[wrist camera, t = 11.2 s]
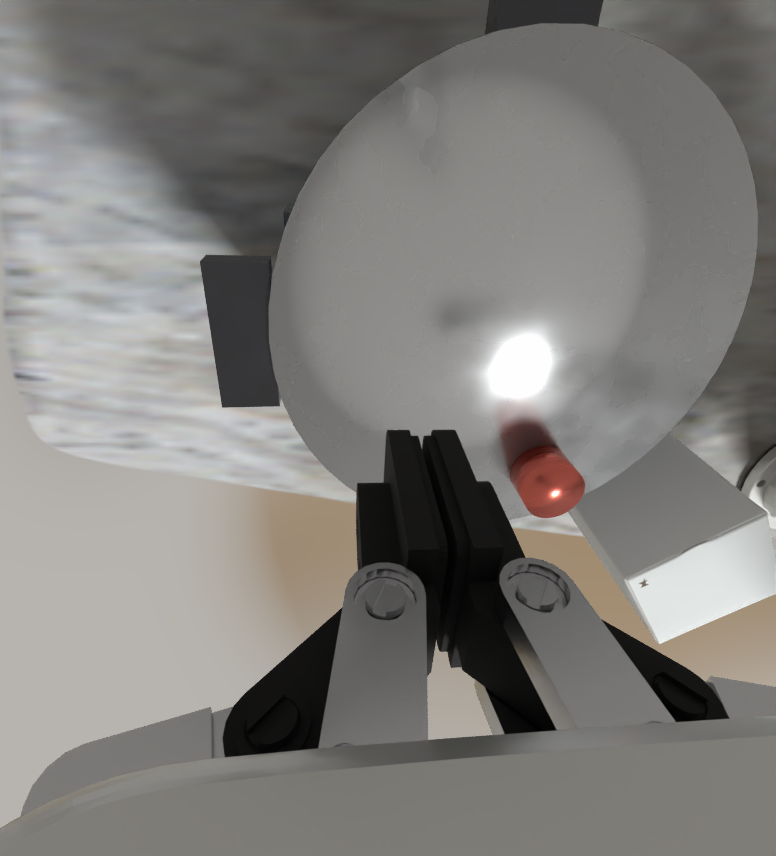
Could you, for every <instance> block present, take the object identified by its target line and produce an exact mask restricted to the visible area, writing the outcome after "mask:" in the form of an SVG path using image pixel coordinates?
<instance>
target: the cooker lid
mask: <svg viewBox="0 0 776 856" xmlns="http://www.w3.org/2000/svg"><path fill="white" fill-rule="evenodd" d="M757 244H758V209H757V200H756V190H755V182H754V179H753V175H752V171H751V167H750V163H749V160H748V156H747V152H746V149H745V147H744V145H743V143H742V140H741V138H740V136H739V134H738V131H737V129H736V127H735V125H734V123H733V120H732V119H731V117H730V116H729V114H728V113H727V111H726V110H725V108H724V107H723V105H722V104H721V103H720V101H719V100H718V98H717V97H716V95H715V94H714V92H713V91H712V90H711V89H710V88H709V87H708V86H707V85H706V84H705V83H704V82H703V81H702V80H701V79H700V78H699V77H698V76H697V75H696V74H695V73H694V72H693V71H692V70H691V69H690V68H689V67H688V66H687V65H685V64H684V63H682V62H681V61H679V60H678V59H676V58H675V57H673V56H672V55H670V54H669V53H667V52H666V51H664V50H663V49H661V48H660V47H658V46H656V45H654V44H651V43H649V42H646V41H644V40H642V39H639V38H637V37H634V36H632V35H629V34H627V33H625V32H622V31H617V30H612V29H607V28H602V27H597V26H592V25H587V24H559V23H541V24H535V25H529V26H523V27H517V28H510V29H504V30H499V31H496V32H493V33H490V34H487V35H484V36H481V37H478V38H475V39H472V40H470V41H467V42H464V43H461V44H458V45H456V46H454V47H452V48H450V49H448V50H446V51H444V52H442V53H440V54H439V55H437V56H435V57H433V58H431V59H429V60H427V61H425V62H423V63H421V64H420V65H418V66H416V67H415V68H413V69H412V70H411V71H409V72H408V73H406V74H405V75H404V76H402V77H401V78H400V79H398V80H397V81H395V82H394V83H393V84H391V85H390V86H389V87H387V88H386V89H385V90H383V91H382V92H380V93H379V94H378V95H376V96H375V97H374V98H373V99H372V100H371V101H370V102H369V103H368V104H367V105H366V106H365V107H364V108H363V109H362V110H360V111H359V112H358V113H357V114H356V115H355V116H354V117H353V118H352V119H351V120H350V121H349V122H348V123H347V124H346V125H345V126H344V127H343V129H342V130H341V131H340V132H339V134H338V135H337V136H336V138H335V139H334V140H333V141H332V143H331V144H330V145H329V147H328V148H327V149H326V151H325V152H324V153H323V154H322V156H321V157H320V158H319V160H318V162H317V163H316V165H315V167H314V168H313V170H312V172H311V174H310V175H309V177H308V179H307V181H306V182H305V184H304V186H303V187H302V189H301V191H300V193H299V195H298V197H297V200H296V202H295V205H294V207H293V209H292V212H291V214H290V217H289V219H288V221H287V224H286V226H285V229H284V232H283V235H282V239H281V243H280V247H279V251H278V254H277V258H276V262H275V266H274V270H273V275H272V268H271V256H236V255H206V256H205V257H204V258H203V259H202V260H201V261H200V265H201V271H202V278H203V284H204V291H205V297H206V304H207V311H208V317H209V324H210V330H211V337H212V343H213V350H214V356H215V363H216V369H217V376H218V382H219V389H220V396H221V402H222V407H262V406H280V399H281V398H282V401H283V403H284V406H285V408H286V410H287V412H288V414H289V416H290V418H291V420H292V422H293V425H294V427H295V428H296V430H297V431H298V433H299V435H300V436H301V438H302V439H303V441H304V442H305V444H306V445H307V447H308V448H309V450H310V451H311V452H312V453H313V454H314V455H315V456H316V458H317V459H318V460H319V461H320V462H321V463H322V464H323V466H324V467H325V468H326V469H327V470H328V471H329V472H331V473H332V474H333V475H334V476H335V477H336V478H338V479H339V480H340V481H341V482H342V483H343V484H345V485H346V486H347V487H349V488H350V489H352V490H354V491H355V492H357V483H383V481H384V463H385V445H386V432H387V430H410V433H411V436H418V437H419V440H420V444H421V448H422V443H423V437H424V436H428V435H431V432H432V430H456V432H457V435H458V437H459V439H460V442H461V444H462V447H463V449H464V451H465V454H466V456H467V459H468V461H469V463H470V466H471V468H472V471H473V473H474V475H475V478H476V480H477V481H489V482H490V483H491V484H492V486H493V488H494V490H495V492H496V494H497V496H498V499H499V501H500V503H501V505H502V507H503V510H504V512H505V514H506V516H507V518H508V520H510V519H515V518H520V517H524V516H529V515H532V514H533V515H534V516H537V517H541V518H551V517H556V516H559V515H562V514H564V513H566V512H568V511H569V510H571V509H572V508H573V507H574V506H575V505H577V503H578V502H579V501H580V500H581V498H582V496H583V495H584V494H586V493H588V492H590V491H592V490H594V489H596V488H598V487H600V486H601V485H603V484H604V483H606V482H608V481H609V480H611V479H612V478H614V477H615V476H617V475H619V474H620V473H622V472H623V471H625V470H626V469H627V468H628V467H630V466H631V465H632V464H634V463H635V462H636V461H638V460H639V459H640V458H642V457H643V456H644V455H645V454H646V453H648V452H649V451H650V450H651V449H652V448H653V447H654V446H655V445H656V444H658V443H659V442H660V441H661V440H662V439H663V438H664V437H665V436H666V435H667V434H668V433H669V432H670V431H671V430H672V429H673V428H674V427H675V425H676V424H677V423H678V422H679V421H680V420H681V419H682V418H683V417H684V416H685V414H686V413H687V412H688V411H689V409H690V408H691V407H692V405H693V404H694V403H695V402H696V400H697V399H698V398H699V396H700V395H701V394H702V393H703V391H704V389H705V388H706V386H707V385H708V383H709V382H710V380H711V379H712V377H713V375H714V374H715V372H716V371H717V369H718V368H719V366H720V364H721V362H722V360H723V358H724V356H725V354H726V352H727V350H728V348H729V346H730V344H731V342H732V340H733V338H734V335H735V333H736V330H737V328H738V325H739V323H740V320H741V318H742V315H743V313H744V309H745V306H746V302H747V299H748V295H749V291H750V288H751V284H752V280H753V274H754V267H755V261H756V254H757Z"/></svg>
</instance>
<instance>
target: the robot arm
mask: <svg viewBox="0 0 776 856" xmlns="http://www.w3.org/2000/svg"><path fill="white" fill-rule="evenodd" d="M741 492H742V493H743V494H745V495H746V496H747V497H749V498H750V499H751V500H752V501H754V502H755V503H756V504H757V505H759V506H760V507H761V508H763V509H764V510H766V511H767V513H768V519H769V524H770V529H776V446H775V447H774V448H773V449H771V450H770V451H769V452H768V453H767V454H766V455H765V456H764V457H763V458H762V459H761V460H759V462H758V463H757V464H756V465H755V467H754V468H753V469H752V470H751V472H750V473H749V475H748V477H747V478H746V480H745V482H744V485H743V487H742V490H741ZM356 531H357V532H356V535H357V560H358V571H357V572H356V573H355V574H354V575H353V576H352V577H351V578H350V580H349V582H348V585H347V587H346V590H345V596H344V602H343V607H342V608H341V609H340V610H339V611H338V612H337V613H336V614H335V615H333V617H331V618H330V619H329V620H328V621H327V622H326V623H324V624H323V625H322V626H321V627H320V628H319V629H318V630H316V631H315V632H314V633H313V634H312V635H311V636H310V637H309V638H307V639H306V640H305V641H304V642H303V643H302V644H301V645H299V646H298V647H297V648H296V649H295V650H294V651H293V652H292V653H290V654H289V655H288V656H287V657H286V658H285V659H284V660H282V661H281V662H280V663H279V664H278V665H277V666H276V667H275V668H273V669H272V670H271V671H270V672H269V673H268V674H267V675H266V676H264V677H263V678H262V679H261V680H260V681H259V682H257V683H256V684H255V685H254V686H253V687H252V688H251V689H250V690H248V691H247V692H246V693H245V694H244V695H243V696H242V697H241V698H240V700H239V701H238V702H237V703H236V704H235V705H234V707H231V708H227V709H224V710H220V711H217V712H214V713H212V710H211V707H209V708H206V709H202V710H199V711H196V712H192V713H189V714H185V715H182V716H179V717H175V718H172V719H169V720H165V721H161V722H158V723H155V724H151V725H148V726H144V727H141V728H137V729H134V730H130V731H127V732H124V733H121V734H117V735H113V736H110V737H106V738H103V739H100V740H96V741H93V742H89V743H86V744H83V745H81V746H79V747H77V748H74V749H72V750H70V751H68V752H66V753H64V754H63V755H62V756H61V757H59V758H58V759H57V760H56V761H54V762H53V763H52V764H51V765H49V766H48V767H47V768H46V769H45V771H44V772H43V773H42V774H41V776H40V777H39V778H38V779H37V781H36V782H35V783H34V784H33V786H32V788H31V790H30V793H29V795H28V797H27V799H26V801H25V804H24V806H23V810H22V813H21V817H19V818H17V819H15V820H13V821H11V822H10V823H8V824H6V825H5V826H3V827H2V828H0V856H776V687H772V686H766V685H760V684H754V683H748V682H742V681H736V680H730V679H724V678H719V677H713V676H710V677H709V678H708V680H707V681H706V682H705V681H703V680H702V679H701V678H700V677H699V676H697V675H696V674H694V673H693V672H691V671H690V670H688V669H687V668H686V667H684V666H682V665H680V664H679V663H677V662H675V661H673V660H672V659H670V658H668V657H666V656H664V655H663V654H661V653H659V652H657V651H656V650H654V649H652V648H651V647H649V646H647V645H645V644H644V643H642V642H640V641H638V640H637V639H635V638H633V637H631V636H630V635H628V634H626V633H624V632H623V631H621V630H619V629H617V628H616V627H614V626H612V625H610V624H609V623H607V622H605V621H603V620H602V619H600V617H599V616H598V615H597V614H596V612H595V610H594V609H593V608H592V606H591V605H590V604H589V602H588V601H587V599H586V598H585V597H584V595H583V594H582V593H581V591H580V590H579V589H578V587H577V586H576V584H575V583H574V582H573V580H572V579H571V578H570V577H569V576H568V575H567V574H566V573H565V572H564V571H562V570H561V569H559V568H558V567H556V566H555V565H553V564H551V563H548V562H546V561H544V560H540V559H534V558H525V556H524V553H523V551H522V549H521V547H520V545H519V542H518V540H517V538H516V536H515V534H514V531H513V529H512V527H511V525H510V523H509V521H508V518H507V516H506V514H505V512H504V510H503V507H502V505H501V503H500V501H499V499H498V496H497V494H496V492H495V490H494V488H493V486H492V484H491V483H490V482H489V481H477V480H476V478H475V475H474V473H473V471H472V468H471V466H470V463H469V461H468V459H467V456H466V454H465V451H464V449H463V447H462V444H461V442H460V439H459V437H458V435H457V432H456V430H432V432H431V435H428V436H424V437H423V443H422V448H421V444H420V440H419V437H418V436H411V433H410V430H387V432H386V445H385V463H384V481H383V483H357V499H356ZM436 640H437V645H438V649H439V651H441V652H444V651H447V652H448V657H449V662H450V666H451V668H453V667H462V670H463V671H464V672H466V673H467V674H468V675H470V676H471V677H472V678H474V679H475V683H474V685H475V689H476V693H477V696H478V699H479V701H480V704H481V706H482V709H483V711H484V714H485V716H486V718H487V721H488V724H489V726H490V729H491V731H492V733H493V735H489V736H475V737H462V738H449V739H436V740H428V717H427V716H428V713H427V712H428V709H427V676H428V675H429V673H430V672H431V669H432V662H433V656H434V650H435V643H436Z"/></svg>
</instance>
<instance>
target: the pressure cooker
mask: <svg viewBox="0 0 776 856" xmlns="http://www.w3.org/2000/svg"><path fill="white" fill-rule="evenodd" d="M602 3H603V0H489V8H488V16H487V24H486V32H485V35H487V34H490V33H493V32H496V31H499V30H504V29H510V28H517V27H523V26H529V25H535V24H541V23H559V24H587V25H592V26H598V22H599V17H600V12H601V8H602ZM294 205H295V204H289V205H288V207H287V208H286V210H285V211H284V226H286V224H287V221H288V219H289V217H290V214H291V212H292V209H293V207H294Z"/></svg>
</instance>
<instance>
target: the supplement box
mask: <svg viewBox="0 0 776 856" xmlns="http://www.w3.org/2000/svg"><path fill="white" fill-rule="evenodd" d="M568 512H569V514H570V515H571V517H572V519H573V520H574V522H575V523H576V525H577V526H578V528H579V529H580V531H581V532H582V533H583V535H584V536H585V538H586V539H587V540H588V542H589V544H590V545H591V547H592V548H593V550H594V551H595V553H596V554H597V556H598V557H599V559H600V560H601V562H602V563H603V565H604V566H605V568H606V569H607V571H608V572H609V573H610V575H611V576H612V577H613V579H614V581H615V582H616V584H617V585H618V587H619V588H620V590H621V591H622V593H623V594H624V595H625V597H626V598H627V600H628V601H629V603H630V604H631V606H632V607H633V609H634V610H635V611H636V613H637V614H638V616H639V617H640V619H641V620H642V622H643V623H644V624H645V626H646V627H647V629H648V630H649V632H650V633H651V635H652V636H653V638H654V639H655V641H656V642H657V643H658V644H661V643H663V642H665V641H667V640H670V639H672V638H674V637H676V636H679V635H681V634H683V633H686V632H688V631H690V630H692V629H695V628H697V627H699V626H702V625H704V624H706V623H709V622H711V621H713V620H715V619H718V618H720V617H722V616H725V615H727V614H729V613H732V612H734V611H736V610H739V609H741V608H743V607H745V606H748V605H750V604H753V603H755V602H757V601H760V600H762V599H765V598H767V597H769V596H772V595H774V594H776V559H775V554H774V548H773V541H772V535H771V529H770V524H769V519H768V513H767V511H766V510H764V509H763V508H761V507H760V506H759V505H757V504H756V503H755V502H754V501H752V500H751V499H750V498H749V497H747V496H746V495H745V494H743V493H742V492H741V491H740V490H739V489H737V488H736V487H735V486H734V485H732V484H731V483H730V482H729V481H727V480H726V479H725V478H724V477H723V476H721V475H720V474H719V473H718V472H716V471H715V470H714V469H713V468H712V467H710V466H709V465H708V464H707V463H706V462H704V461H703V460H702V459H701V458H699V457H698V456H697V455H696V454H695V453H693V452H692V451H691V450H690V449H688V448H687V447H686V446H685V445H684V444H682V443H681V442H680V441H679V440H677V439H676V438H675V437H674V436H673V435H671V434H670V433H668V434H667V435H666V436H665V437H664V438H663V439H662V440H661V441H660V442H659V443H658V444H656V445H655V446H654V447H653V448H652V449H651V450H650V451H649V452H648V453H646V454H645V455H644V456H643V457H642V458H640V459H639V460H638V461H636V462H635V463H634V464H632V465H631V466H630V467H628V468H627V469H626V470H625V471H623V472H622V473H620V474H619V475H617V476H615V477H614V478H612V479H611V480H609V481H608V482H606V483H604V484H603V485H601V486H600V487H598V488H596V489H594V490H592V491H590V492H588V493H586V494H584V495H583V496H582V498H581V500H580V501H579V502H578V503H577V505H575V506H574V507H573V508H572V509H571V510H569V511H568Z"/></svg>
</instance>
